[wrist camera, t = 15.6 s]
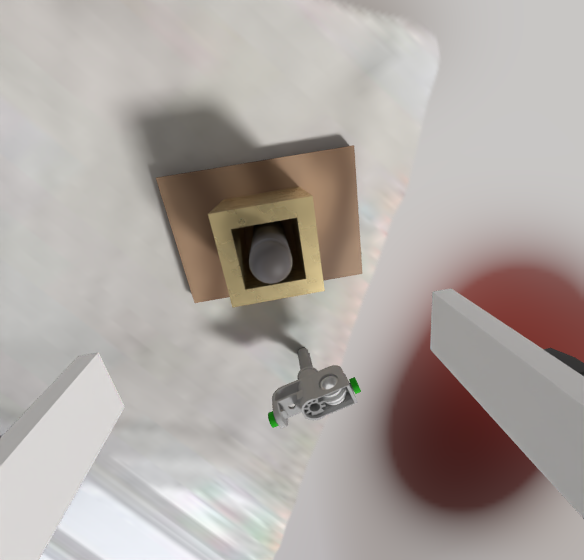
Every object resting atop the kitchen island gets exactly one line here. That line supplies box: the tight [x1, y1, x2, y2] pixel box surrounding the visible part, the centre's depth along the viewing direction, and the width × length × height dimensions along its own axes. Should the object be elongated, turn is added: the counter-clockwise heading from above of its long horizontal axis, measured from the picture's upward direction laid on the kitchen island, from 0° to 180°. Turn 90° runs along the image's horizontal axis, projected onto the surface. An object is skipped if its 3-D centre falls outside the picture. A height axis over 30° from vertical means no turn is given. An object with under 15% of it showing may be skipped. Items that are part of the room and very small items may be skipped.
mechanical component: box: [268, 348, 361, 428], centre depth 36 cm, size 3×10×10 cm, turn 114°
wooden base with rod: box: [156, 146, 362, 303], centre depth 27 cm, size 20×14×14 cm
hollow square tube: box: [208, 187, 324, 307], centre depth 28 cm, size 8×8×9 cm
